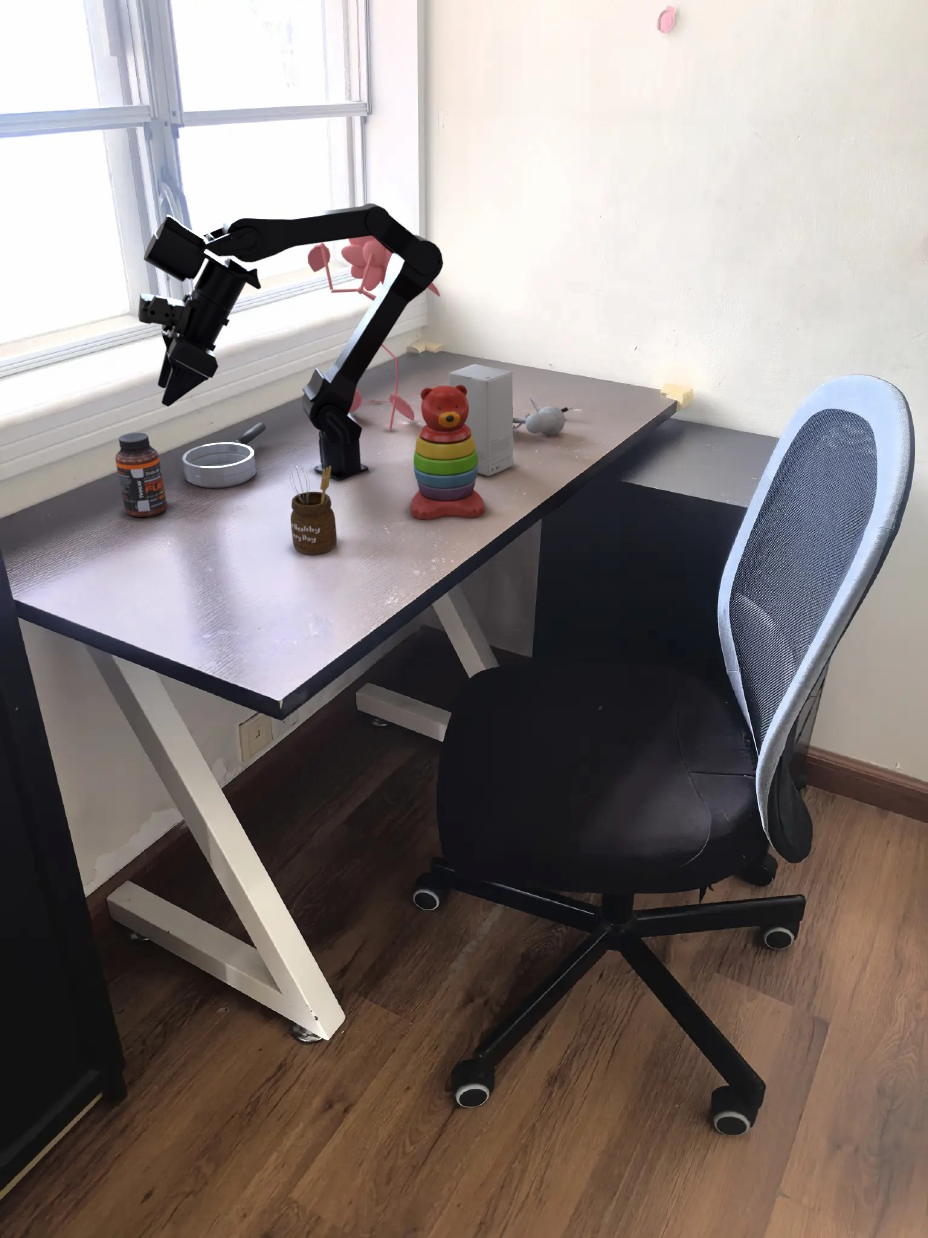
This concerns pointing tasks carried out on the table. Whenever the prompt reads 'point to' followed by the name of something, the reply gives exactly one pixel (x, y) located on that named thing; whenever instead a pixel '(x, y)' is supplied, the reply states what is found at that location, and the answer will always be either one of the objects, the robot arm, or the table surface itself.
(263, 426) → the pan handle
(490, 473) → the cosmetic box
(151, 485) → the supplement bottle
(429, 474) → the stacking bear
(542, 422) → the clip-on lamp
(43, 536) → the table surface
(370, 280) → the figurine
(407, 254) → the robot arm
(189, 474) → the pan
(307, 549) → the utensil holder
